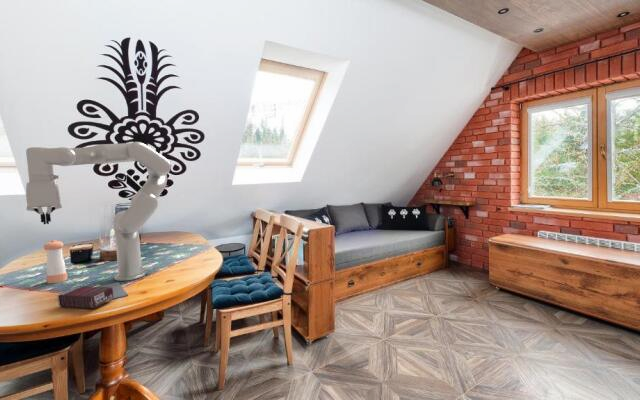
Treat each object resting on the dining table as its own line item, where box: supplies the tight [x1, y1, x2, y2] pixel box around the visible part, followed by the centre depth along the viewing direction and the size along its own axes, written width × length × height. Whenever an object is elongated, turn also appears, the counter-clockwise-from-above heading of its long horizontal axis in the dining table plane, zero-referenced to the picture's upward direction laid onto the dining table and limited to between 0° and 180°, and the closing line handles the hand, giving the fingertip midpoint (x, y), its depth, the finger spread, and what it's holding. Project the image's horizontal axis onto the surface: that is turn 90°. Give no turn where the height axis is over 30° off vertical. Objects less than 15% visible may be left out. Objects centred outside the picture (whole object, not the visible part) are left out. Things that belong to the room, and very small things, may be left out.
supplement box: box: [56, 285, 115, 309], centre depth 117 cm, size 9×5×16 cm
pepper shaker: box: [43, 239, 68, 284], centre depth 143 cm, size 7×7×19 cm
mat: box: [96, 281, 129, 301], centre depth 127 cm, size 14×20×1 cm
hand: (46, 223), depth 126 cm, fingers closed
